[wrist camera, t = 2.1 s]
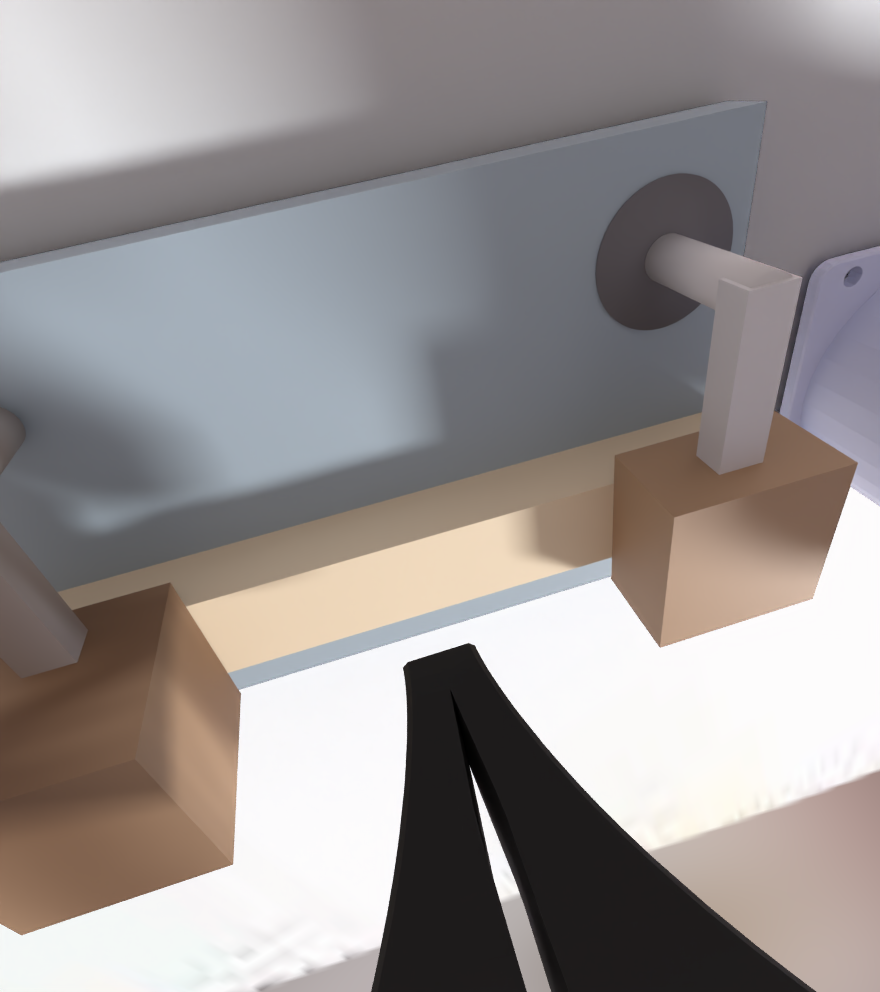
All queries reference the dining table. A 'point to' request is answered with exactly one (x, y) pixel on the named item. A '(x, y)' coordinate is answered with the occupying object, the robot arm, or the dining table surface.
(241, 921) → the dining table surface
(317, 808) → the dining table surface
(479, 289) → the gauge board
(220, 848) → the slider
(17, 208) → the dining table surface
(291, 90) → the dining table surface
